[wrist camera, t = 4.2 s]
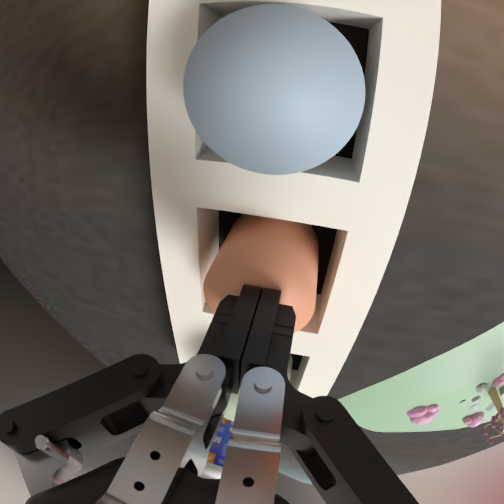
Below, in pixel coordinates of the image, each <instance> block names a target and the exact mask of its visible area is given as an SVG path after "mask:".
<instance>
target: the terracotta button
mask: <svg viewBox="0 0 504 504" xmlns="http://www.w3.org/2000/svg"><path fill="white" fill-rule="evenodd" d="M318 260H319V242H318V238H317V235H316V233H315V231H314V229H313V227H312V226H311V224H305V223H299V222H293V221H287V220H281V219H275V218H268V217H262V216H256V215H249V214H242V215H241V216H240V217H239V218H238V219H237V220H236V221H235V223H234V224H233V226H232V228H231V230H230V231H229V233H228V235H227V237H226V239H225V241H224V243H223V244H222V246H221V248H220V250H219V252H218V254H217V256H216V257H215V259H214V261H213V263H212V265H211V267H210V269H209V271H208V272H207V274H206V277H205V279H204V284H203V293H204V297H205V301H206V303H207V305H208V307H209V308H210V310H211V311H212V313H213V314H215V312H216V309H217V307H218V305H219V302H220V301H221V300H222V299H224V298H225V297H226V296H227V295H228V294H230V295H235V296H239V295H240V292H241V290H242V287H243V285H244V284H247V285H252V286H258V287H262V291H263V288H269V289H275V290H280V291H282V292H281V298H280V304H283V305H289V306H292V307H293V309H294V312H295V315H296V321H295V327H294V333H295V332H297V331H299V330H300V329H302V328H303V327H304V326H305V325H307V323H308V322H309V321H310V319H311V318H312V316H313V313H314V310H315V304H316V291H317V277H318Z"/></svg>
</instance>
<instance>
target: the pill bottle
mask: <svg viewBox="0 0 504 504" xmlns="http://www.w3.org/2000/svg"><path fill="white" fill-rule="evenodd" d="M233 423H234V421H231V420H229V419H226V418H224V417H223V419H222V421H221V424H220V426H219V429H218V431H217V433H216V436H215V438H214V440H213V443H212V445H211V448H210V450H209V453H208V458H207V462H206V465H205V468H204V470H203V472H202V475H201V478H207V479H221V474H222V469H223V464H224V460H225V455H226V450H227V445H228V441H229V438H230V435H231V432H232V428H233Z"/></svg>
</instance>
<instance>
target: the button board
mask: <svg viewBox="0 0 504 504" xmlns="http://www.w3.org/2000/svg"><path fill="white" fill-rule="evenodd" d="M263 4H280V5H288V6H293V7H297V8H301V9H304V10H306V11H309V12H311V13H314V14H316V15H317V16H319V17H321V18H323V19H325V20H326V21H327V22H332V23H339V24H344V25H350V26H355V27H360V28H365V29H369V37H368V48H367V58H366V67H365V75H364V79H365V91H366V92H365V104H364V109H363V113H362V117H361V119H360V122H359V125H358V127H357V132H356V138H355V144H354V149H353V155H352V159H350V158H344V157H339V156H333V157H331V158H330V159H329V160H327V161H325V162H324V163H322V164H320V165H318V166H316V167H314V168H311V169H309V170H306V171H302V172H299V173H293V174H287V175H269V174H261V173H255V172H251V171H248V170H245V169H242V168H240V167H237V166H235V165H233V164H231V163H229V162H228V161H226V160H224V159H223V158H221V157H220V156H219V155H217V154H216V153H215V152H213V151H212V150H211V149H210V148H209V147H208V146H207V145H206V144H205V143H204V141H203V140H202V139H201V138H200V136H199V135H198V133H197V132H196V130H195V129H194V127H193V125H192V123H191V121H190V119H189V116H188V113H187V110H186V107H185V102H184V95H183V80H184V73H185V68H186V64H187V61H188V59H189V56H190V54H191V52H192V50H193V48H194V46H195V44H196V43H197V42H198V40H199V39H200V38H201V36H202V35H203V34H204V33H205V32H206V31H207V30H208V29H209V28H210V27H211V26H212V25H213V24H215V23H216V22H217V21H218V20H220V19H222V18H223V17H225V16H227V15H228V14H231V13H233V12H235V11H238V10H240V9H243V8H247V7H250V6H256V5H263ZM440 20H441V0H149V10H148V28H147V65H146V85H147V123H148V143H149V159H150V172H151V184H152V194H153V204H154V213H155V222H156V230H157V238H158V245H159V252H160V259H161V266H162V272H163V279H164V285H165V291H166V296H167V302H168V308H169V313H170V318H171V323H172V328H173V333H174V338H175V343H176V348H177V352H178V357H179V361H180V364H182V363H185V362H187V361H188V360H189V359H190V358H192V357H194V356H196V354H197V353H198V351H199V349H200V347H201V344H202V342H203V340H204V337H205V335H206V333H207V330H208V328H209V326H210V323H211V322H212V319H213V316H214V314H213V313H212V311H211V310H210V308H209V307H208V305H207V303H206V301H205V297H204V293H203V284H204V279H205V277H206V274H207V272H208V271H209V269H210V267H211V265H212V263H213V261H214V259H215V257H216V256H217V254H218V252H219V210H222V211H229V212H236V213H242V214H249V215H256V216H262V217H268V218H275V219H281V220H287V221H293V222H299V223H305V224H311V225H317V226H323V227H329V228H334V229H337V232H336V237H335V241H334V245H333V249H332V253H331V257H330V261H329V265H328V269H327V273H326V277H325V281H324V284H323V288H322V292H321V295H320V294H316V304H315V310H314V313H313V316H312V318H311V319H310V321H309V322H308V323H307V325H305V326H304V327H303V328H302V329H300V330H299V331H297V332H295V333H294V334H293V340H292V346H291V352H290V353H291V354H297V355H303V356H302V359H301V362H300V365H299V368H298V370H293V369H292V370H291V376H290V383H291V385H292V386H293V387H294V388H295V389H296V390H298V391H299V392H301V393H303V394H305V395H307V396H310V397H312V398H315V397H318V396H327V394H328V393H329V391H330V389H331V387H332V385H333V383H334V382H335V380H336V378H337V376H338V374H339V372H340V370H341V368H342V366H343V364H344V362H345V360H346V358H347V356H348V354H349V352H350V350H351V348H352V346H353V344H354V342H355V340H356V338H357V335H358V333H359V331H360V329H361V327H362V325H363V322H364V320H365V318H366V316H367V313H368V311H369V309H370V306H371V304H372V302H373V299H374V297H375V294H376V292H377V289H378V287H379V285H380V282H381V279H382V277H383V274H384V272H385V269H386V266H387V264H388V261H389V258H390V256H391V253H392V250H393V247H394V244H395V241H396V239H397V236H398V233H399V230H400V227H401V223H402V220H403V217H404V214H405V211H406V208H407V204H408V201H409V197H410V194H411V190H412V187H413V183H414V180H415V176H416V172H417V168H418V164H419V160H420V156H421V152H422V147H423V143H424V138H425V134H426V129H427V124H428V119H429V113H430V108H431V102H432V96H433V89H434V83H435V75H436V67H437V58H438V48H439V36H440Z"/></svg>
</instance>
